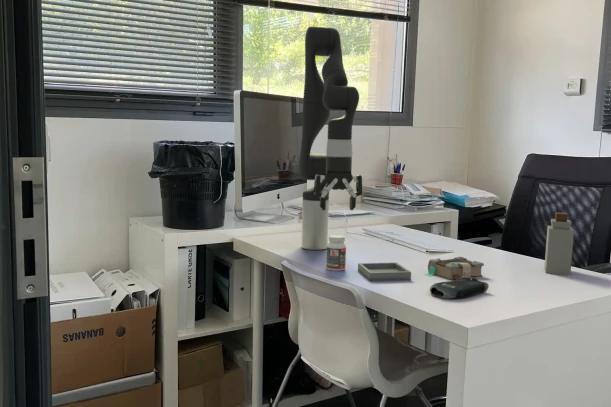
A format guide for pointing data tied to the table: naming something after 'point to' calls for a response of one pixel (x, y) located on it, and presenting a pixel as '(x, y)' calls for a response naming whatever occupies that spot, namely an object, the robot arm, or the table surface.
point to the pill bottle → (336, 253)
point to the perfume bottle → (559, 245)
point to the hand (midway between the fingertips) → (337, 209)
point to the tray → (384, 271)
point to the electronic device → (459, 288)
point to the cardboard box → (454, 268)
